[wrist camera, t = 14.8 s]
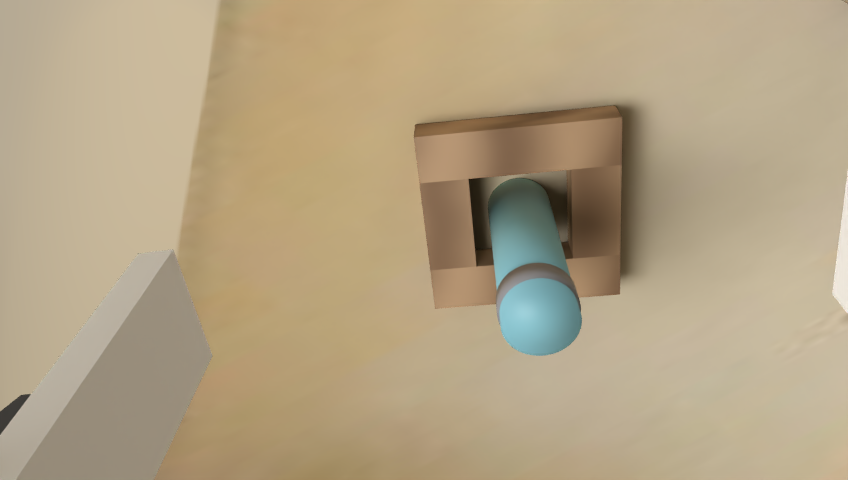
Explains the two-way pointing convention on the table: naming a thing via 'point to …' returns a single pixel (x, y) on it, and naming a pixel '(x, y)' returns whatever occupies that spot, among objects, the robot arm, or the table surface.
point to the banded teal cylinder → (531, 271)
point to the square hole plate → (510, 155)
